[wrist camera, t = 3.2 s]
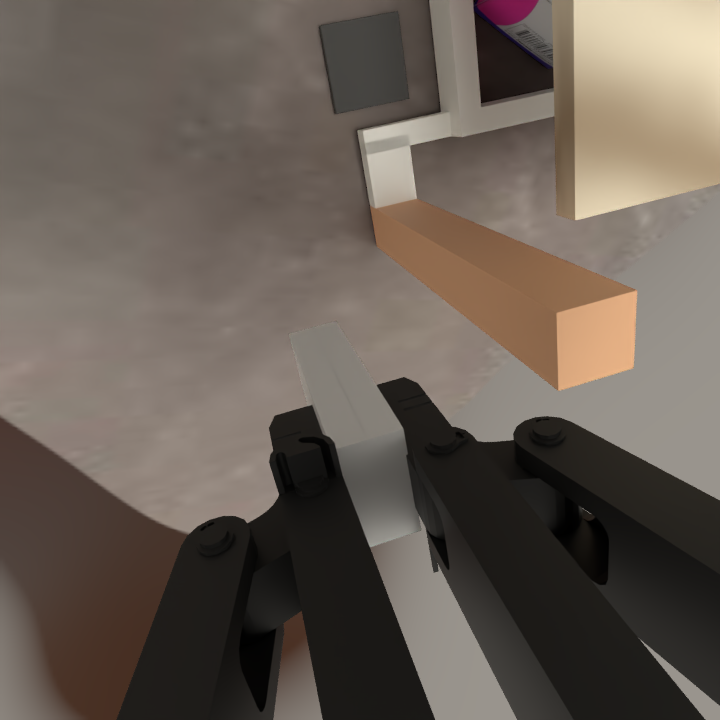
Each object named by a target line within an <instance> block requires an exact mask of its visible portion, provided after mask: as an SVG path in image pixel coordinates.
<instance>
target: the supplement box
mask: <svg viewBox="0 0 720 720" xmlns="http://www.w3.org/2000/svg"><path fill="white" fill-rule="evenodd" d="M474 11H475V12H476V13H477V14H478V15H479V16H480V17H482V18H483V19H484V20H486V21H487V22H488V23H489V24H491V25H492V26H493V27H494V28H496V29H497V30H498V31H499V32H501V33H502V34H503V35H504V36H506V37H507V38H508V39H510V40H511V41H512V42H514V43H515V44H516V45H517V46H519V47H520V48H521V49H523V50H524V51H525V52H526V53H528V54H529V55H530V56H532V57H533V58H534V59H536V60H537V61H538V62H540V63H541V64H542V65H544V66H545V67H546V68H547V69H551V68H553V29H552V0H476V1H475V4H474Z"/></svg>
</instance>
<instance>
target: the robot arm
mask: <svg viewBox="0 0 720 720" xmlns="http://www.w3.org/2000/svg"><path fill="white" fill-rule="evenodd" d="M289 337H290V341H291V345H292V349H293V352H294V356H295V360H296V364H297V368H298V371H299V375H300V379H301V383H302V387H303V391H304V394H305V398H306V402H307V407H303V408H300V409H296V410H293V411H289V412H286V413H283V414H279V415H276V416H275V417H274V419H273V421H272V423H271V425H270V427H269V431H270V436H271V440H272V446H273V452H272V453H271V455H270V461H269V463H270V467H271V470H272V473H273V476H274V479H275V483H276V486H277V489H278V492H279V497H278V499H277V500H276V502H275V503H274V505H273V506H272V507H271V508H270V509H269V510H268V511H267V512H265V513H264V514H262V515H261V516H259V517H258V518H256V519H254V520H253V521H251V522H249V523H246V521H245V520H244V519H241V518H239V517H236V516H222V517H218V518H215V519H211V520H209V521H207V522H205V523H203V524H201V525H200V526H198V527H197V528H195V529H194V530H193V531H192V532H191V533H190V534H189V535H188V536H187V537H186V539H185V541H184V542H183V544H182V546H181V548H180V551H179V553H178V556H177V559H176V561H175V564H174V567H173V570H172V572H171V575H170V578H169V580H168V583H167V586H166V588H165V591H164V594H163V596H162V599H161V602H160V604H159V607H158V610H157V613H156V615H155V618H154V621H153V623H152V626H151V629H150V631H149V634H148V637H147V639H146V642H145V645H144V647H143V651H142V653H141V656H140V658H139V661H138V664H137V667H136V669H135V672H134V675H133V677H132V680H131V682H130V685H129V688H128V690H127V693H126V696H125V698H124V701H123V704H122V706H121V710H120V712H119V715H118V717H117V720H273V717H274V709H275V701H276V693H277V685H278V676H279V669H280V661H281V653H282V645H283V636H284V624H283V623H284V622H286V621H287V620H289V619H290V618H292V617H293V616H294V615H296V614H297V613H299V612H300V611H302V614H303V620H304V624H305V630H306V635H307V640H308V645H309V650H310V656H311V661H312V666H313V671H314V677H315V682H316V686H317V692H318V697H319V702H320V707H321V713H322V718H323V720H435V718H434V716H433V713H432V710H431V708H430V705H429V702H428V700H427V697H426V694H425V692H424V689H423V687H422V684H421V681H420V679H419V676H418V674H417V671H416V668H415V665H414V663H413V660H412V658H411V655H410V652H409V650H408V647H407V644H406V642H405V639H404V636H403V634H402V631H401V629H400V626H399V623H398V621H397V618H396V615H395V613H394V610H393V607H392V605H391V602H390V599H389V597H388V594H387V592H386V589H385V586H384V584H383V581H382V578H381V576H380V573H379V570H378V568H377V565H376V562H375V560H374V557H373V554H372V552H371V549H370V547H373V546H376V545H379V544H382V543H385V542H388V541H390V540H394V539H397V538H400V537H402V536H406V535H409V534H412V533H415V532H418V531H421V526H420V520H419V516H420V517H421V519H422V521H423V523H424V525H425V527H426V532H427V538H428V544H429V550H430V555H431V561H432V567H433V571H434V572H437V571H438V565H439V567H440V569H441V571H442V573H443V574H444V576H445V578H446V580H447V582H448V584H449V586H450V588H451V590H452V592H453V594H454V596H455V598H456V600H457V602H458V604H459V606H460V608H461V610H462V612H463V614H464V616H465V618H466V620H467V622H468V624H469V626H470V628H471V630H472V632H473V634H474V635H475V638H476V639H477V641H478V643H479V645H480V647H481V649H482V651H483V653H484V655H485V657H486V659H487V661H488V663H489V665H490V667H491V669H492V671H493V673H494V675H495V677H496V679H497V681H498V683H499V685H500V687H501V689H502V690H503V693H504V695H505V697H506V698H507V700H508V702H509V704H510V706H511V708H512V710H513V712H514V714H515V716H516V718H517V720H705V719H704V718H703V716H702V715H701V714H700V713H699V711H698V710H697V709H696V708H695V707H694V705H693V704H692V703H691V702H690V701H689V699H688V698H687V697H686V696H685V694H684V693H683V692H682V691H681V690H680V688H679V687H678V686H677V685H676V683H675V682H674V681H673V680H672V679H671V677H670V676H669V675H668V674H667V672H666V671H665V670H664V669H663V668H662V666H661V665H660V664H659V663H658V661H657V660H656V659H655V658H654V656H653V655H652V654H651V653H650V652H649V650H648V649H647V648H646V647H645V646H644V644H643V643H642V642H641V641H640V639H641V640H642V641H643V642H644V643H645V644H647V645H648V646H649V647H650V648H652V649H653V650H654V651H655V652H656V653H658V654H659V655H660V656H661V657H662V658H663V659H665V660H666V661H667V662H668V663H669V664H671V665H672V666H673V667H674V668H675V669H677V670H678V671H679V672H680V673H681V674H683V675H684V676H685V677H686V678H687V679H689V680H690V681H691V682H692V683H693V684H695V685H696V686H697V687H698V688H699V689H700V690H702V691H703V692H704V693H705V694H706V695H708V696H709V697H710V698H711V699H712V700H714V701H715V702H716V703H717V704H719V705H720V500H718V499H716V498H714V497H712V496H710V495H708V494H706V493H705V492H702V491H701V490H699V489H697V488H695V487H693V486H691V485H689V484H688V483H686V482H684V481H682V480H680V479H678V478H676V477H674V476H672V475H671V474H669V473H666V472H665V471H663V470H661V469H659V468H657V467H655V466H654V465H652V464H650V463H648V462H646V461H644V460H642V459H640V458H638V457H637V456H635V455H633V454H631V453H629V452H627V451H625V450H623V449H621V448H620V447H617V446H615V445H614V444H612V443H610V442H608V441H606V440H604V439H603V438H601V437H599V436H597V435H595V434H593V433H591V432H589V431H587V430H586V429H584V428H582V427H580V426H578V425H576V424H574V423H572V422H570V421H567V420H565V419H562V418H557V417H548V416H546V417H535V418H532V419H529V420H526V421H524V422H522V423H521V424H520V425H518V426H517V427H516V429H515V431H514V434H513V435H514V440H511V441H500V442H478V441H477V440H476V439H475V438H474V437H473V436H472V435H471V434H470V433H468V432H467V431H466V430H463V429H460V428H457V427H452V426H451V425H450V424H449V422H448V421H447V420H446V419H445V417H444V416H443V415H442V413H441V412H440V411H439V410H438V408H437V407H436V406H435V405H434V403H432V401H431V399H430V398H429V397H428V396H427V395H426V393H425V392H424V390H423V389H422V388H421V387H420V385H419V384H418V383H416V382H414V381H412V380H409V379H407V378H405V377H403V378H399V379H396V380H392V381H389V382H385V383H382V384H378V385H376V384H375V382H374V381H373V379H372V377H371V376H370V374H369V373H368V371H367V369H366V368H365V366H364V365H363V363H362V361H361V360H360V358H359V357H358V355H357V353H356V352H355V350H354V349H353V347H352V345H351V344H350V342H349V341H348V339H347V337H346V336H345V334H344V333H343V331H342V329H341V328H340V326H339V324H338V323H337V321H334V322H330V323H326V324H323V325H319V326H315V327H311V328H308V329H304V330H300V331H296V332H293V333H289ZM582 508H584V509H585V510H586V511H585V510H584V509H582ZM587 511H588V512H589V513H591V514H589V513H588V512H587ZM437 563H438V564H437ZM639 638H640V639H639Z"/></svg>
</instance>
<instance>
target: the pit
mask: <svg viewBox="0 0 720 720" xmlns="http://www.w3.org/2000/svg"><path fill="white" fill-rule="evenodd" d="M319 29H320V35H321V40H322V46H323V51H324V56H325V62H326V67H327V73H328V78H329V83H330V89H331V94H332V100H333V105H334V111H335V114H339V113H343V112H348V111H353V110H358V109H362V108H367V107H372V106H377V105H381V104H386V103H391V102H396V101H400V100H405V99H409V93H408V85H407V78H406V70H405V62H404V54H403V46H402V38H401V31H400V23H399V15H398V11H396V12H391V13H386V14H380V15H375V16H369V17H364V18H359V19H353V20H348V21H343V22H337V23H332V24H327V25H321V26H319Z"/></svg>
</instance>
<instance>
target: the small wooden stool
mask: <svg viewBox="0 0 720 720" xmlns="http://www.w3.org/2000/svg"><path fill="white" fill-rule="evenodd" d="M552 29H553V75H554V120H555V165H556V211H557V215H558V216H562V217H565V218H568V219H572V220H579V219H583V218H587V217H591V216H595V215H599V214H603V213H607V212H610V211H614V210H618V209H622V208H626V207H630V206H634V205H638V204H642V203H646V202H650V201H654V200H657V199H661V198H665V197H669V196H673V195H677V194H681V193H685V192H689V191H693V190H697V189H701V188H705V187H708V186H712V185H716V184H720V0H552Z"/></svg>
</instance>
